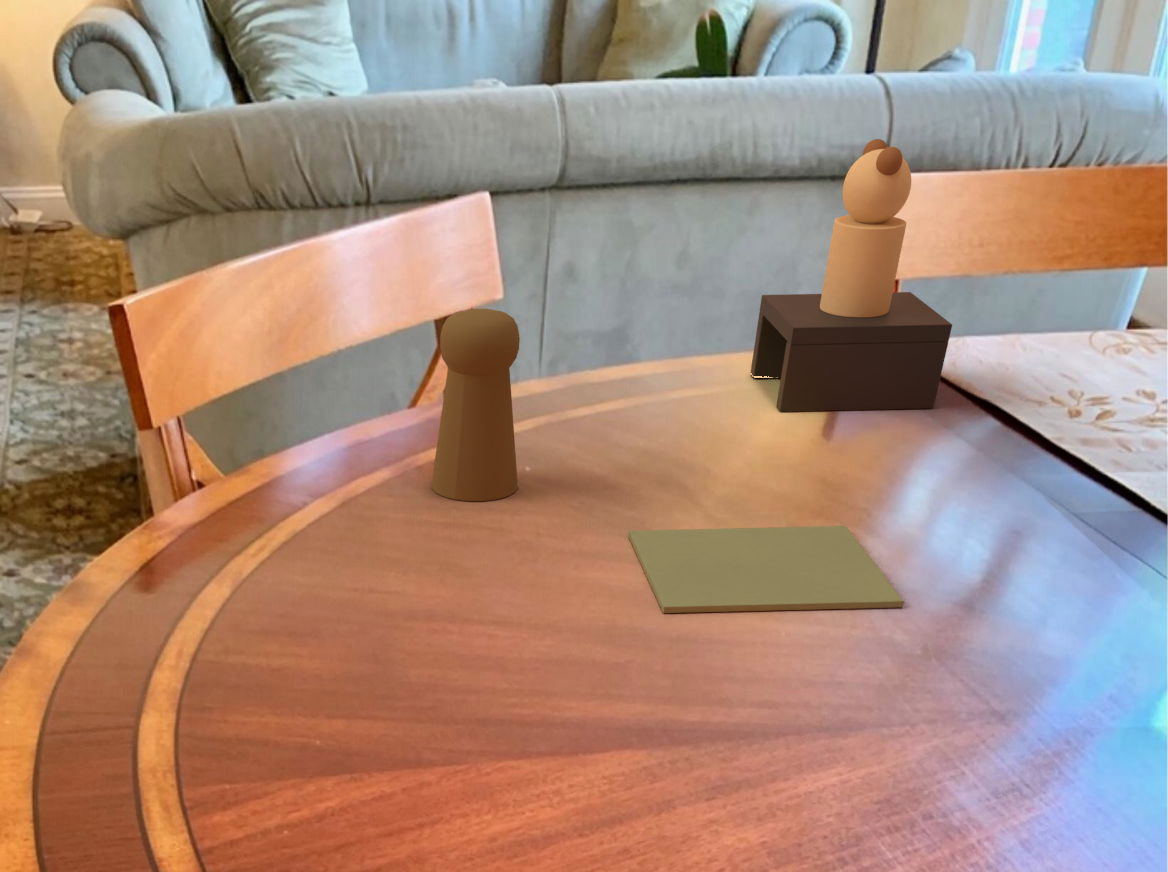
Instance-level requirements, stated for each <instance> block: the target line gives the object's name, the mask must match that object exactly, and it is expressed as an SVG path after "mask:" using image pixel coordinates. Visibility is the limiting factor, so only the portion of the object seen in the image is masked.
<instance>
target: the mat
mask: <svg viewBox="0 0 1168 872" xmlns="http://www.w3.org/2000/svg"><path fill="white" fill-rule="evenodd" d="M628 538H629V542H630V543H631V546H632V548H633V550H634V552H635V554H636V556H637V559H638V560H639V563H640V565H641V567H642V569H643V572H644V575H645V576H646V578H647V580H648V582H649V585H650V587H651V589H652V591H653V593H654V595H655V598H656V600H657V603H658V604H659V607H660V609H661V611H662V613H663V614H677V613H678V614H682V613H723V612H724V613H726V612H727V613H728V612H763V611H764V612H765V611H767V612H768V611H805V610H806V611H809V610H845V609H847V610H849V609H889V608H890V609H891V608H893V609H894V608H903V607H904V603H905V601H904V599H903V597H901V595H900V594H899V593H898V591H897V590H896V589H895V587H894V586H893V585H892V584H891V582H890V581H889V580H888V578H887V577H886V576H885V574H884V573H883V572H882V571H881V569H880V568H879V567H878V565H877V564H876V563H875V561H874V560H873V559H872V558H871V556H870V555H869V553H868V552H867V551H866V550H865V549H864V547H863V546H862V545H861V543H860V542H859V541H858V540H857V538H856V536H854V534H853V533H852V532H851V530H850V529H849V527H848V526H847V525H821V526H820V525H819V526H818V525H817V526H816V525H815V526H814V525H813V526H776V527H773V526H771V527H738V528H737V527H731V528H726V527H725V528H687V529H686V528H685V529H683V528H682V529H647V530H646V529H643V530H642V529H640V530H628Z"/></svg>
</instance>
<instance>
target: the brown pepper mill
mask: <svg viewBox="0 0 1168 872" xmlns="http://www.w3.org/2000/svg"><path fill="white" fill-rule="evenodd" d="M439 337H440V338H439V341H440V342H439V349H440V354H441V358H442V360H443V362H444V364H445V365H446V367H447V372H446V379H445V387H444V393H443V401H442V406H441V407H442V408H441V414H440V420H439V428H438V435H437V441H436V449H435V457H434V464H433V471H432V477H431V484H430V485H431V487H430V488H431V490H432V491H433V492H434V493H436V494H438V495H439V496H441V497H444V498H447V499H451V500H455V501H465V502H487V501H495V500H501V499H503V498H507V497H509V496H512V495H513V494H515V493H516V492H517V491H518V489H519V483H518V482H519V481H518V470H517V455H516V442H515V441H516V440H515V427H514V414H513V399H512V383H511V372H510V369H511V367H512V365H514V363H515V361H516V359H517V357H518V354H519V350H520V341H521V340H520V338H521V337H520V332H519V327H518V324H517V322H516V320H515V318H514V317H512V316H511V315H510V314H508V313H506V312H505V311H501V310H497V309H490V308H469V309H464V310H459V311H456V312H454V313H452V314H451V315H449V317H447V318H446V319H445V321H444V323H443V325H442V326H441V331H440V335H439Z"/></svg>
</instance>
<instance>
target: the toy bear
mask: <svg viewBox="0 0 1168 872" xmlns="http://www.w3.org/2000/svg"><path fill="white" fill-rule="evenodd" d="M911 188H912V173H911V169H910V166H909V164H908V162H907V161H906V160H905V158H904V157H903V153H902V152H901V150H900V149H899V148H898V147H895V146H888V144H887V142H886V141H884V140H883V139H880V138H875V139H872V140H870V141H869V142H867V144H866V145H865V146H864V147H863V150H862V155H861V156H860V157H859V158H858V159H857V160H855V162H854V163H853V164H852V165H851V166H850V168H849V170H848V171H847V174H846V176H845V178H844V181H843V185H842V201H843V205H844V207H845V210H846V211H847V213H848V214H845V215H841V216H837V217H835V219H834V221H833V228H832V232H831V239H830V245H829V250H828V257H827V263H826V268H825V274H824V278H823V279H824V280H823V285H822V291H821V294H822V296H821V302H820V309H821V310H822V311H824V312H826V313H829V314H833V315H837V316H843V317H855V318H867V317H877V316H882V315H885V314H887V313H888V312H889V308H890V303H891V298H892V293H893V292H894V289H895V282H896V278H897V272H898V267H899V264H900V263H899V262H900V258H901V252H902V248H903V242H904V237H905V233H906V229H907V221H906V220H904V219H902V218H900V217H895V216H896V215H897V214H898V213H900V211H901V210H902V209H903V207H904V206H905V205H906V202H907V200H908V199H909V196H910V193H911Z"/></svg>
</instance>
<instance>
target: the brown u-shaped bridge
mask: <svg viewBox="0 0 1168 872" xmlns="http://www.w3.org/2000/svg"><path fill="white" fill-rule="evenodd" d="M821 296H822V293H798V294H797V293H795V294H794V293H791V294H762V295H761V298H760V304H759V312H758V320H757V327H756V333H755V338H754V339H755V340H754V346H753V354H752V360H751V366H750V373H752V375H753V376H762V377H764V376H767V377H768V376H769V377H781V378H780V381H779V388H778V394H777V400H776V405H775V408H776V409H777V410H778V411H779V412H781V413H788V412H789V413H790V412H793V413H794V412H831V411H833V412H834V411H838V412H839V411H875V410H876V411H877V410H879V411H880V410H881V411H883V410H886V411H887V410H927V409H928V410H929V409H934V408H935V403H936V398H937V395H938V389H939V386H940V381H941V378H942V373H943V369H944V364H945V359H946V355H947V350H948V347H949V341H950V338H951V332H952V328H953V324H952V323H951V322H950V321H948V320H947V319H946V318H945V317H943V316H942V315H941V314H939V312H937V311H936V310H934V309H933V308H932V307H930V306H929V305H928V304H927V303H925V302H924V301H922V300H921V299H920V297H918V296H916V295H915V294H914V293H912V292H911V291H900V292H899V291H896V292H895V291H893V293H892V298H891V303H890V308H889V312H888V313H887V314H885V315H882V316H877V317H867V318H855V317H843V316H837V315H833V314H829V313H826V312H824V311H822V310H821V309H820V302H821Z"/></svg>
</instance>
